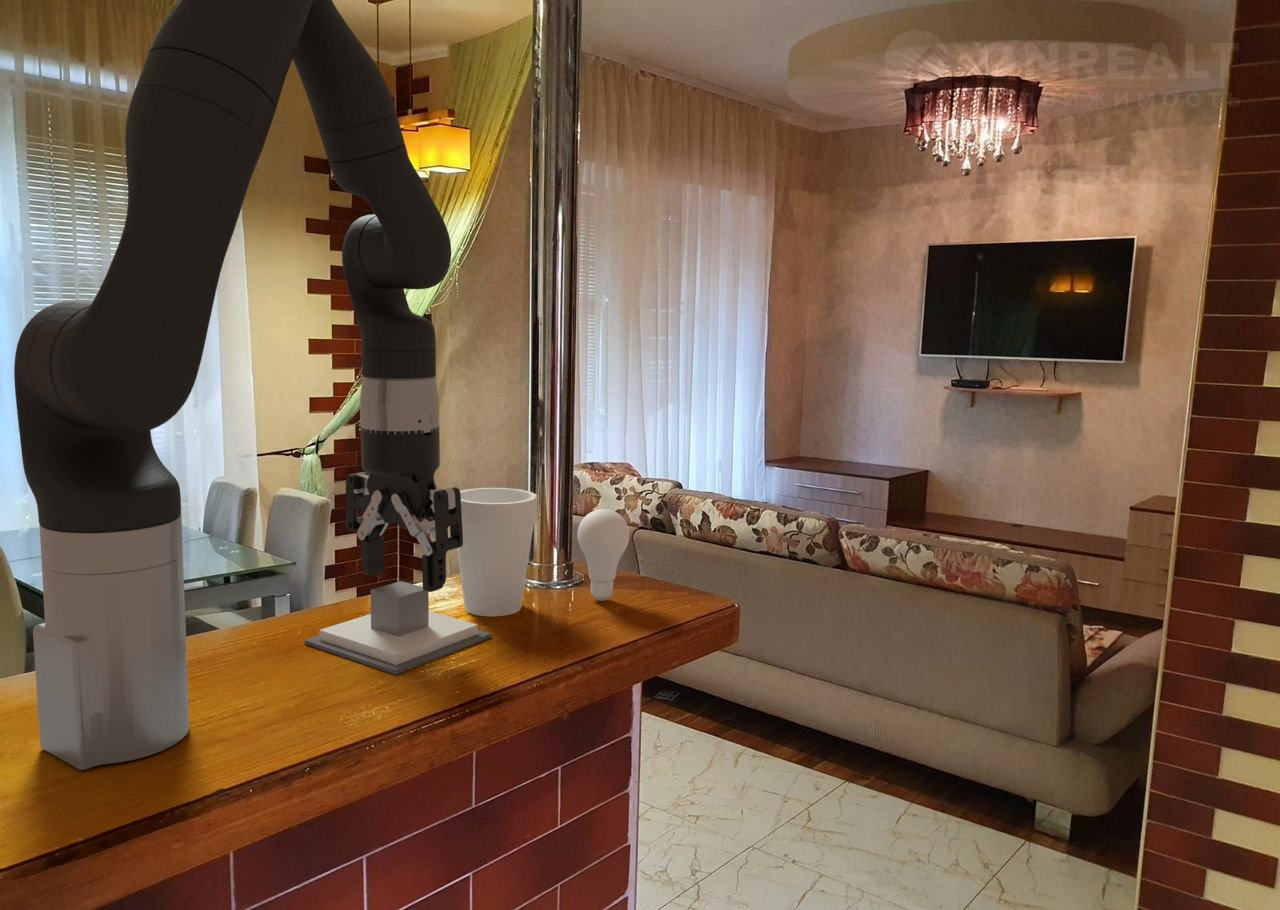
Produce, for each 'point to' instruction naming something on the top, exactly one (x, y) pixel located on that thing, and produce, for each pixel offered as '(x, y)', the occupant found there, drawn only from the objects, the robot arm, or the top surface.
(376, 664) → the mat
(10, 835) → the top surface
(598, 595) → the lightbulb
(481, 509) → the foam cup
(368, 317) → the robot arm
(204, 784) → the top surface
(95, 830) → the top surface
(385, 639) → the cover
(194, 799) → the top surface
